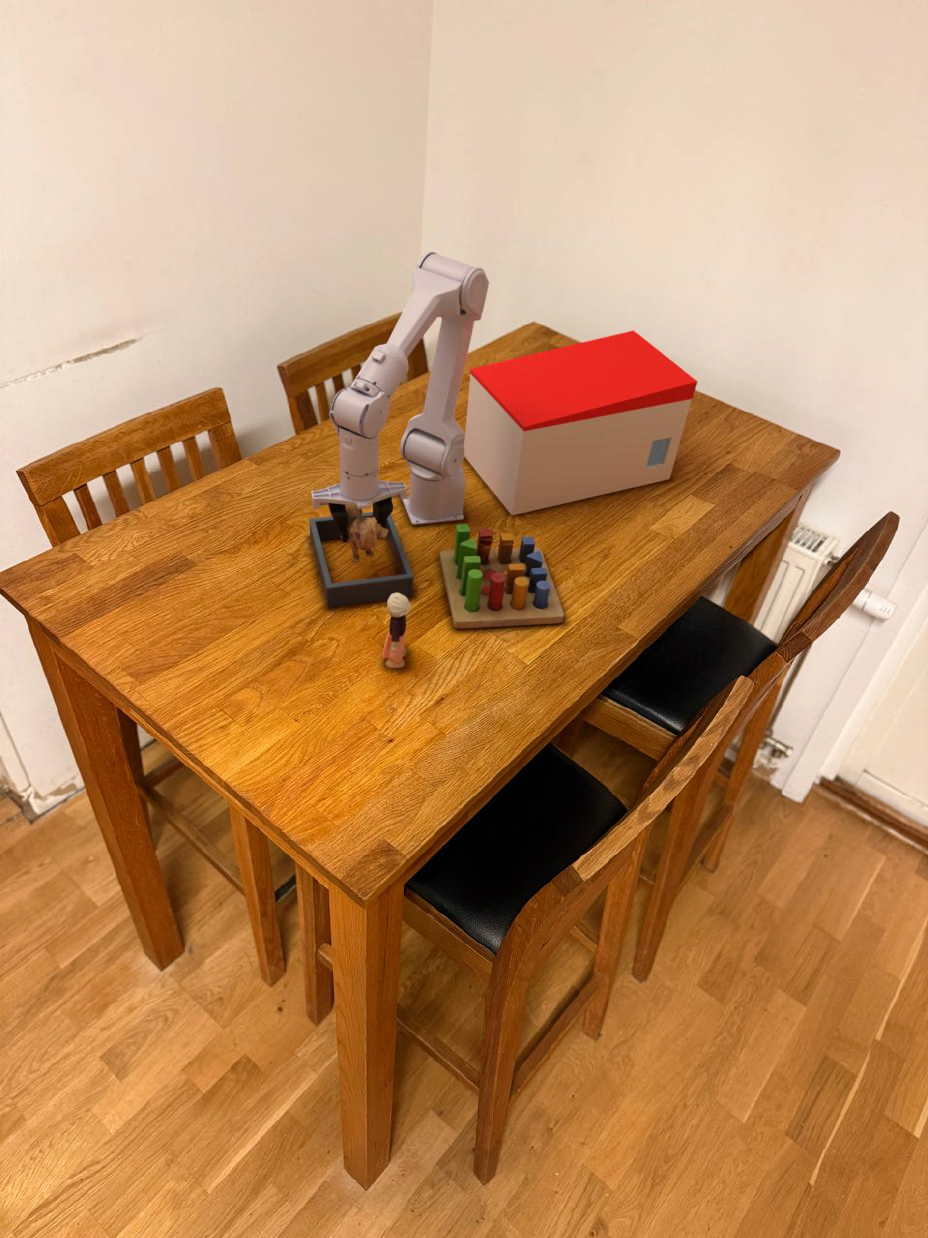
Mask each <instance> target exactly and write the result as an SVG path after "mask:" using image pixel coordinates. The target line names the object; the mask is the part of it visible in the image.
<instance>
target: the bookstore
mask: <svg viewBox="0 0 928 1238" xmlns="http://www.w3.org/2000/svg"><path fill="white" fill-rule="evenodd" d="M469 373H470V374H469V385H468V386H469V387H468V397H467V406H466V407H467V408H466V409H467V410H466V419H465V420H466V421H465V430H464V431H465V432H464V433H465V441H464V459H466V460H467V462H468V463H469V464H470V466H471V467H473V469H474V470H475V472H476V473H477V474H478V475H479V477H480V478H481V479H482V480H483V482H484V483H485V484H486V486H488V488H489V490H491V492H492V493H493V494H494V496H495V497H496V498H497V499H498V500H499V502H500V503H501V504H502V505H503V507H504V508H505V509H506V510H507V512H509V514H510V515H511V516H516V515H520V514H524V513H529V512H534V511H537V510H540V509H547V508H550V507H554V506H559V505H563V504H568V503H572V502H577V501H581V500H585V499H590V498H594V497H597V496H602V495H607V494H612V493H616V492H619V491H623V490H624V491H625V490H628V489H632V488H633V489H634V488H638V487H642V486H645V485H646V486H647V485H650V484H654V483H658V482H663V481H667V480H670V478H671V475H672V471H673V468H674V464H675V461H676V457H677V453H678V450H679V446H680V443H681V439H682V435H683V432H684V428H685V424H686V422H687V417H688V414H689V411H690V408H691V404H692V400H693V399H694V396H695V392H696V389H697V385H698V382H699V381H698V380H697V379H695V378H694V377H693V376H691V375H690V374H689V373H688V372H686V371H685V370H684V369H683V368H682V367H680V366H679V365H678V364H677V363H675V362H674V360H671V359H670V358H669V357H668V356H667V355H665V354H664V353H663V352H662V351H660V350H659V349H657V348H656V347H655V346H654V345H653V344H652V343H650V342H649V341H648V340H646V339H645V338H644V337H642V335H640V334H639V333H638V332H637V331H636V330H629V331H626V332H620V333H617V334H612V335H608V336H604V337H603V336H602V337H599V338H596V339H591V340H587V341H583V342H579V343H573V344H570V345H566V346H561V347H557V348H552V349H549V350H545V351H540V352H536V353H531V354H528V355H527V354H526V355H523V356H519V357H515V358H511V359H506V360H501V361H498V362H493V363H490V364H485V365H480V366H476V367H473V368H470V370H469Z"/></svg>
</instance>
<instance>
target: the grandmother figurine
mask: <svg viewBox="0 0 928 1238" xmlns="http://www.w3.org/2000/svg"><path fill="white" fill-rule="evenodd" d="M386 607H387V612H388V615H389V616H390V618H389V629H388V633H387V636H386V638H385V641H384V645H383V649H382V658H383V659H386V660H385V665H386V667H387V668H389V669H401V668H403V667H405V661H404V657H405V656H406V655H407V651H406V642H405V641H406V640H405V637H406V631H407V615H408V614H409V613H410V612H411V609H412V605H411V602H410V601H409V599H408V597H406V596H404V595H402V594H400V593H393V594H391V595H390V597H389V599H388V600H387V602H386Z"/></svg>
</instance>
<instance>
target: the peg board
mask: <svg viewBox="0 0 928 1238" xmlns="http://www.w3.org/2000/svg"><path fill="white" fill-rule="evenodd" d="M470 534H471V529H470V526H469V524H467V523H462V524H461V523H460V524H459V523H458V524H456V525H455V539H454V549H453V550H442V551H440V552H439V563H440V568H441V573H442V577H443V582H444V587H445V591H446V596H447V600H448V604H449V605H448V606H449V609H450V613H451V618H452V623H453V626H454V628H455V629H458V630H461V629H462V630H463V629H479V628H480V629H481V628H482V629H483V628H495V627H496V628H497V627H498V628H499V627H514V626H531V625H533V626H534V625H550V624H561V623H563V621H564V617H565V613H564V609H563V606H562V603H561V602H560V599H559V595H558V592H557V590H556V587H555V584H554V582H553V578H552V575H551V573H550V570H549V567H548V563H547V561H546V559H545V556H544V553H543V550H542V549H541V547H537V546H536V541H535V538H534V537H533V536H522V537H521V541H520V547H514V544H515V539H514V534H513V533H512V532H501V533H500V535H499V541H498V542H499V543H498V548H492V544H493V531H492V529H491V528H479V529H478V537H477V544H476V541H475V539H474V538H473V537H471V538H470Z"/></svg>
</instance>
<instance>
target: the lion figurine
mask: <svg viewBox="0 0 928 1238" xmlns="http://www.w3.org/2000/svg"><path fill="white" fill-rule="evenodd" d="M345 506H346V511H347V515H348V519H347V529H348V531H349V537H348V538H349V540H350V548H351V553H352V557H351V562H352V563H357V564H358V563H359V562H360V561H361V559H360V557H361V556H360V554H359V550H361V552H363V551H364V552H365V554H366V556H367V557H369V558H373V557H374V556H375V552H374V550H372V549H375V547H376V546H378V542H379V540H380V541H385V539H386V538H387V533H388V530H387V529H385V528H383V527H381V525H380V524H378V523H377V520H376V519H375V517H371V518H370V517H365V518H364V517H363V516H362V513H363V509H358V508H357V506H355V505H346V504H345ZM347 534H348V533H347ZM340 539H342V536H341V538H340Z"/></svg>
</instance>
